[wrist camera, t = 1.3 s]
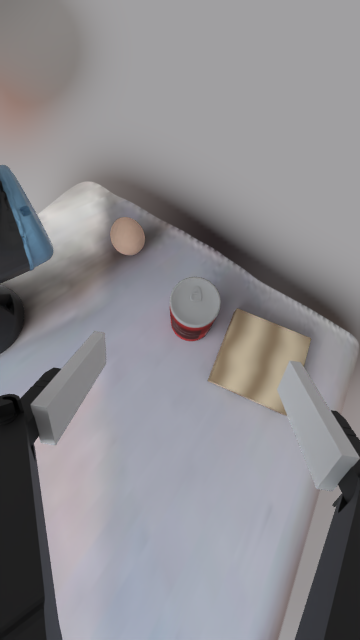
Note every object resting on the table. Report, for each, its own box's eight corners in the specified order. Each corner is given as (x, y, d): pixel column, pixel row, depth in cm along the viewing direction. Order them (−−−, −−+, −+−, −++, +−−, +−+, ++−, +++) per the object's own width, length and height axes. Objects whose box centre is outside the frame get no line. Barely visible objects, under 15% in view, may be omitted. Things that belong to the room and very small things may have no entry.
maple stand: (207, 380, 40) (209, 380, 37) (233, 313, 44) (237, 308, 41) (281, 414, 39) (290, 416, 36) (302, 341, 42) (311, 338, 40)
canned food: (205, 300, 45) (214, 272, 34) (214, 338, 42) (227, 321, 32) (167, 306, 44) (165, 280, 34) (174, 345, 42) (174, 331, 31)
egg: (112, 240, 48) (100, 213, 41) (141, 232, 49) (135, 203, 42) (120, 266, 47) (110, 242, 39) (151, 256, 47) (146, 231, 40)
